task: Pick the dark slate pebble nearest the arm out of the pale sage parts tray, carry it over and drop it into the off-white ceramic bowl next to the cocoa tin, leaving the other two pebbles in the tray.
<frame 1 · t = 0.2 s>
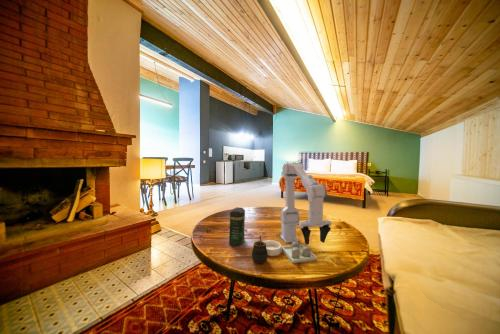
hand: (314, 242, 82), 10 cm above the table, fingers open, 7 cm apart
pebble b: (295, 257, 87), point 1 cm above the table, touching tray
mate gourd: (259, 260, 85), on the table
pebble c: (306, 255, 88), point 1 cm above the table, touching tray
bowl: (270, 250, 94), on the table
coffee jar: (237, 242, 103), on the table
tray: (297, 254, 90), on the table
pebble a: (295, 250, 93), point 1 cm above the table, touching tray
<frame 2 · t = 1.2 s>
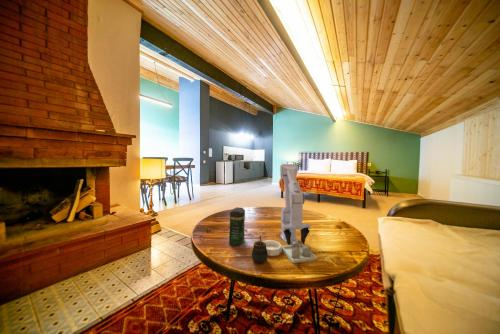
hand: (295, 243, 92), 4 cm above the table, fingers open, 7 cm apart
nothing on the table moved.
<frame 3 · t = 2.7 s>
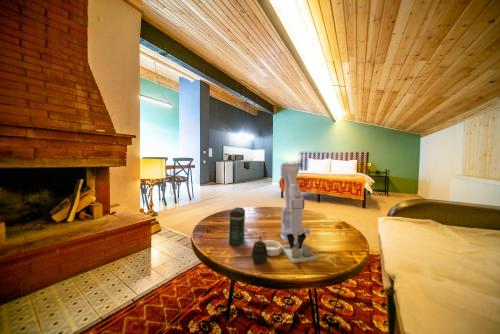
hand: (295, 248, 93), 2 cm above the table, fingers closed on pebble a, 4 cm apart
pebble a: (295, 250, 93), point 1 cm above the table, touching gripper, tray
everything else where it was.
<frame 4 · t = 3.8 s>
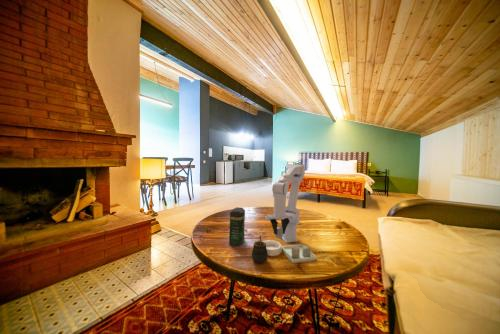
hand: (279, 233, 93), 9 cm above the table, fingers closed on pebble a, 4 cm apart
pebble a: (279, 236, 93), point 8 cm above the table, touching gripper
everything else where it was.
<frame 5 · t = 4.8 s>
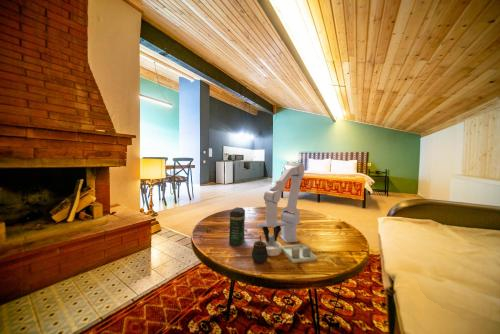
hand: (270, 241, 94), 5 cm above the table, fingers closed on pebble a, 4 cm apart
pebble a: (271, 243, 93), point 3 cm above the table, touching gripper
everything else where it was.
when the fingers open (5 cm above the table, at t = 5.2 s): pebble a drops 2 cm, resting on bowl.
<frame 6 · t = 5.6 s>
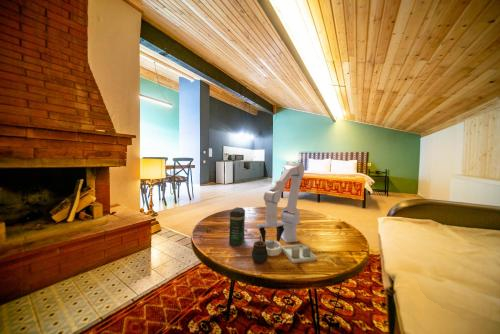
hand: (270, 241, 94), 5 cm above the table, fingers open, 7 cm apart
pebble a: (270, 249, 94), point 1 cm above the table, touching bowl
everything else where it was.
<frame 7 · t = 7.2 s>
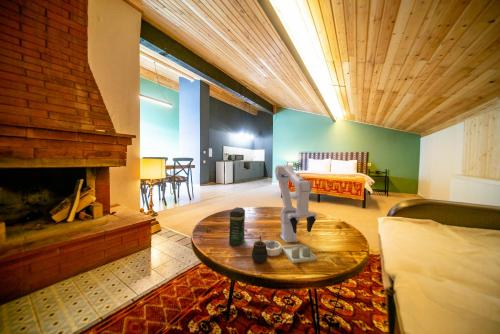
hand: (301, 231, 93), 10 cm above the table, fingers open, 7 cm apart
nothing on the table moved.
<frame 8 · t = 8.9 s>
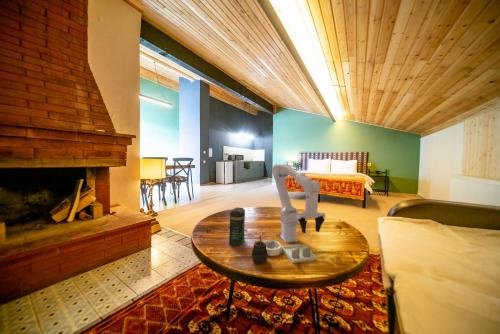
hand: (310, 232, 93), 10 cm above the table, fingers open, 7 cm apart
nothing on the table moved.
at the end: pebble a 0.3 cm from the bowl (horizontally); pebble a point 0.8 cm above the table; the gripper is holding nothing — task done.
